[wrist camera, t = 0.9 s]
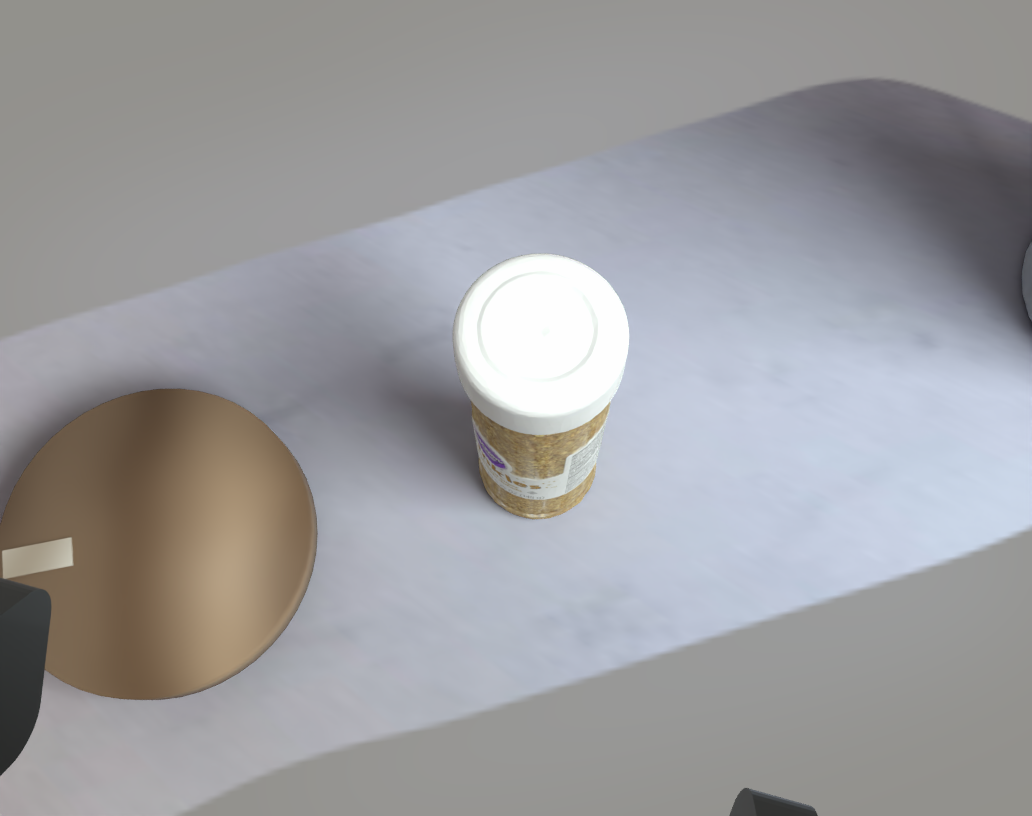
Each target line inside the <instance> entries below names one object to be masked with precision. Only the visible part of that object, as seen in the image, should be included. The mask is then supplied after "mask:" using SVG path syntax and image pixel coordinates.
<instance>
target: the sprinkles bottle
mask: <svg viewBox="0 0 1032 816" xmlns="http://www.w3.org/2000/svg"><path fill="white" fill-rule="evenodd" d="M628 347H629V326H628V321H627V317H626V313H625V310H624V307H623V305H622V303H621V301H620V299H619V297H618V295H617V294H616V293H615V291H614V290H613V288H612V287H611V285H610V284H609V283H608V282H607V281H606V280H605V279H604V278H603V277H602V276H601V275H600V274H598V273H597V272H596V271H594V270H593V269H591V268H590V267H588V266H586V265H584V264H583V263H581V262H578V261H576V260H573V259H571V258H568V257H564V256H560V255H554V254H528V255H522V256H518V257H514V258H511V259H508V260H505V261H503V262H501V263H499V264H497V265H495V266H494V267H492V268H490V269H489V270H487V271H486V272H485V273H483V274H482V275H481V276H480V277H479V278H478V279H477V280H476V281H475V282H474V283H473V284H472V285H471V287H470V288H469V289H468V291H467V292H466V293H465V295H464V297H463V299H462V300H461V302H460V305H459V307H458V310H457V313H456V316H455V320H454V325H453V348H454V356H455V362H456V367H457V371H458V375H459V379H460V381H461V384H462V386H463V388H464V390H465V392H466V394H467V395H468V397H469V398H470V400H471V404H472V421H473V428H474V433H475V439H476V445H477V451H478V454H479V469H480V475H481V478H482V481H483V483H484V486H485V489H486V490H487V492H488V493H489V495H490V496H491V497H492V498H493V500H494V501H495V502H496V503H497V504H498V505H500V506H501V507H503V508H504V509H505V510H507V511H509V512H510V513H512V514H515V515H518V516H522V517H525V518H530V519H546V518H551V517H554V516H557V515H560V514H563V513H565V512H566V511H568V510H570V509H571V508H572V507H574V506H576V505H577V504H578V503H580V502H581V500H582V499H583V497H584V496H585V494H586V493H587V492H588V490H589V489H590V487H591V485H592V482H593V479H594V476H595V470H596V460H597V457H598V454H599V450H600V446H601V441H602V437H603V433H604V429H605V425H606V421H607V417H608V413H609V409H610V402H611V399H612V398H613V396H614V395H615V393H616V391H617V389H618V387H619V385H620V382H621V379H622V376H623V372H624V368H625V364H626V358H627V353H628Z"/></svg>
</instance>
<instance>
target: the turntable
mask: <svg viewBox="0 0 1032 816" xmlns="http://www.w3.org/2000/svg"><path fill="white" fill-rule="evenodd" d="M316 549H317V518H316V511H315V506H314V501H313V496H312V493H311V490H310V487H309V485H308V482H307V479H306V477H305V475H304V473H303V471H302V469H301V467H300V465H299V463H298V462H297V460H296V459H295V458H294V456H293V455H292V453H291V452H290V451H289V449H288V448H287V447H286V446H285V444H284V443H283V442H282V441H281V440H280V439H279V438H278V437H277V436H276V435H275V434H274V433H273V432H272V431H271V429H270V428H269V427H268V426H267V425H266V424H265V423H264V422H262V421H261V420H260V419H258V418H257V417H256V416H255V415H253V414H252V413H251V412H249V411H248V410H246V409H244V408H242V407H241V406H239V405H237V404H235V403H234V402H231V401H229V400H226V399H224V398H221V397H219V396H216V395H212V394H208V393H204V392H200V391H194V390H186V389H156V390H148V391H141V392H137V393H133V394H129V395H125V396H121V397H119V398H116V399H113V400H111V401H108V402H105V403H103V404H101V405H99V406H97V407H95V408H93V409H91V410H89V411H87V412H85V413H84V414H82V415H81V416H79V417H78V418H76V419H75V420H73V421H72V422H70V423H69V424H67V425H66V426H65V427H64V428H63V429H61V430H60V431H59V432H58V433H57V434H55V435H54V436H53V437H52V438H51V439H50V440H49V441H48V442H47V443H46V444H45V445H44V446H43V447H42V448H41V450H40V451H39V452H38V453H37V454H36V455H35V457H34V458H33V459H32V461H31V462H30V463H29V465H28V466H27V467H26V469H25V470H24V472H23V473H22V475H21V477H20V479H19V480H18V482H17V484H16V485H15V487H14V489H13V491H12V494H11V496H10V498H9V500H8V503H7V505H6V508H5V511H4V514H3V517H2V521H1V524H0V578H4V579H7V580H11V581H15V582H18V583H22V584H25V585H29V586H33V587H36V588H40V589H43V590H46V591H47V592H48V594H49V595H50V598H51V606H52V607H51V619H50V627H49V635H48V644H47V652H46V661H45V670H46V671H48V672H49V673H51V674H52V675H54V676H55V677H57V678H58V679H60V680H61V681H63V682H65V683H67V684H69V685H71V686H73V687H76V688H78V689H80V690H82V691H86V692H89V693H93V694H96V695H99V696H105V697H112V698H119V699H133V700H163V699H170V698H178V697H183V696H187V695H190V694H194V693H197V692H201V691H204V690H206V689H208V688H211V687H213V686H216V685H218V684H220V683H222V682H224V681H226V680H227V679H229V678H231V677H233V676H234V675H236V674H238V673H240V672H241V671H242V670H244V669H245V668H246V667H248V666H249V665H250V664H252V663H253V662H254V661H256V660H257V659H258V658H259V657H260V656H261V655H262V654H263V653H264V652H265V651H266V650H267V649H268V648H269V647H270V646H272V644H273V643H274V642H275V641H276V640H277V638H278V637H279V636H280V635H281V633H282V632H283V631H284V630H285V629H286V627H287V626H288V624H289V622H290V621H291V619H292V618H293V616H294V615H295V613H296V611H297V610H298V607H299V605H300V603H301V601H302V599H303V597H304V595H305V593H306V590H307V587H308V584H309V581H310V578H311V575H312V572H313V567H314V562H315V556H316Z"/></svg>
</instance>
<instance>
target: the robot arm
mask: <svg viewBox="0 0 1032 816" xmlns="http://www.w3.org/2000/svg"><path fill="white" fill-rule="evenodd" d="M1022 289H1023V297H1024V301H1025V304H1026V308H1027V311H1028V315H1029V318H1030V320H1031V321H1032V241H1031V243H1030V245H1029V247H1028V249H1027V251H1026V254H1025V259H1024V264H1023V269H1022ZM51 607H52V606H51V598H50V595H49V594H48V592H47V591H46V590H43V589H40V588H36V587H33V586H29V585H25V584H22V583H18V582H15V581H11V580H7V579H4V578H0V776H1V775H2V774H3V773H4V772H5V771H6V770H7V769H8V768H9V767H10V765H11V764H12V763H13V762H14V761H15V760H16V758H17V757H18V756H19V754H20V753H21V751H22V750H23V748H24V747H25V745H26V743H27V741H28V739H29V737H30V735H31V733H32V731H33V728H34V726H35V723H36V720H37V717H38V713H39V709H40V703H41V695H42V686H43V678H44V669H45V661H46V652H47V644H48V635H49V627H50V619H51ZM730 816H817V813H816V811H815V809H814V808H813V807H812V806H809V805H806V804H802V803H799V802H795V801H791V800H788V799H784V798H781V797H777V796H773V795H770V794H766V793H763V792H759V791H755V790H752V789H748V788H744V789H743V790H742V791H741V792H740V793H739V795H738V796H737V798H736V800H735V802H734V805H733V807H732V811H731V813H730Z"/></svg>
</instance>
